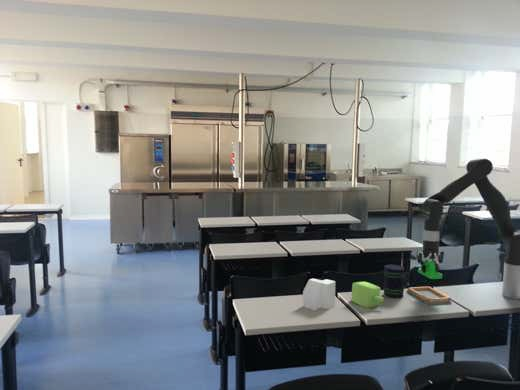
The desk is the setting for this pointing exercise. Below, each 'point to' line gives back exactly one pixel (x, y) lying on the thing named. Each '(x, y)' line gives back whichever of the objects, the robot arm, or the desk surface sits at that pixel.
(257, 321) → the desk surface
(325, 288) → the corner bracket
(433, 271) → the mechanical part
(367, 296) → the gearbox
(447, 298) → the fitting jig
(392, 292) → the storage jar
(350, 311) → the desk surface
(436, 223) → the robot arm
